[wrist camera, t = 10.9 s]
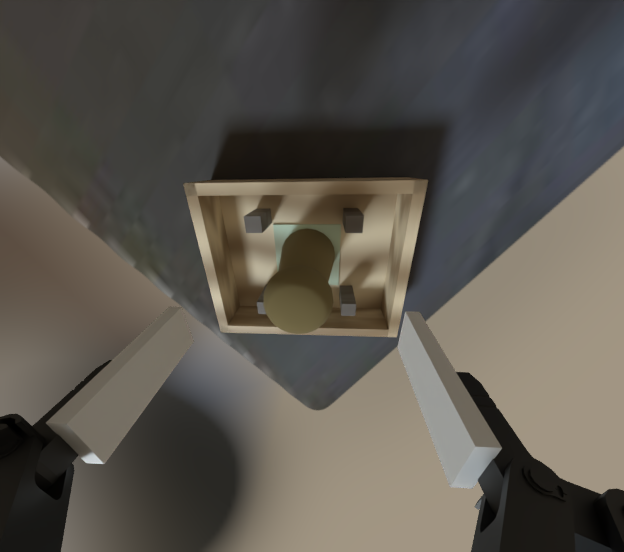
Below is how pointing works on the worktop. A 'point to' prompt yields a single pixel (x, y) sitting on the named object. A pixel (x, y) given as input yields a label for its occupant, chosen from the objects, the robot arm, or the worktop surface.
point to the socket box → (319, 216)
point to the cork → (301, 283)
